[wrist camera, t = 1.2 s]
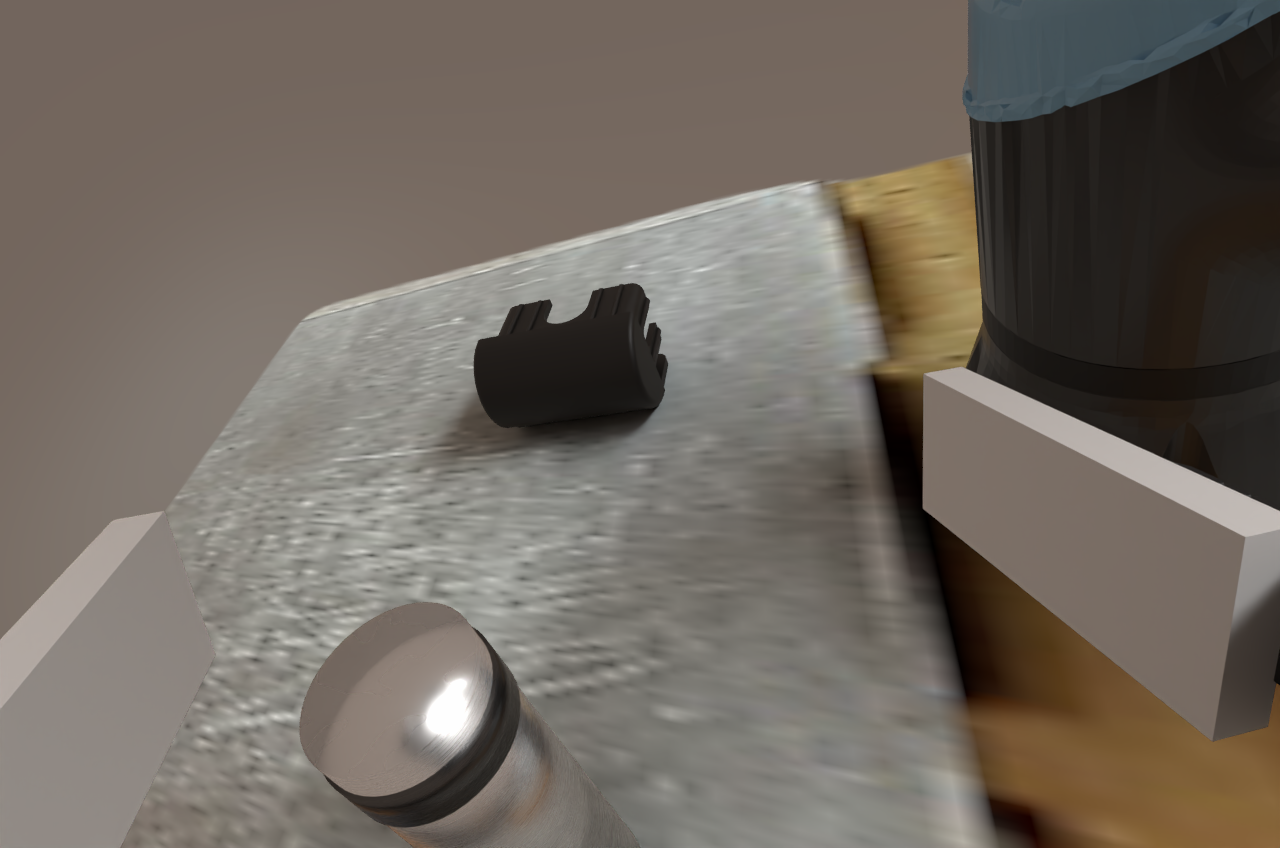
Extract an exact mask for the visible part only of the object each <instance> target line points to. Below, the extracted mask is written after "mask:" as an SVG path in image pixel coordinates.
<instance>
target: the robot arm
mask: <svg viewBox="0 0 1280 848" xmlns="http://www.w3.org/2000/svg"><path fill="white" fill-rule="evenodd" d="M963 104H964V105H965V106H966V111H967V113H968V115H969V117H970V131H971V147H972V162H973V177H974V192H975V208H976V223H977V238H978V253H979V268H980V283H981V294H982V311H983V314H982V316H983V322H982V325H981V328H980V330H979V333H978V336H977V339H976V341H975V344H974V347H973V350H972V352H971V355H970V358H969V361H968V363H967V366H966V368H963V367H958V368H952V369H947V370H941V371H936V372H930V373H925V374H924V383H923V509H924V510H925V511H927V512H928V513H929V514H930V515H932V516H933V517H934V518H935V519H937V520H938V521H939V522H940V523H941V524H943V525H944V526H945V527H946V528H948V529H949V530H950V531H951V532H953V533H954V534H955V535H956V536H958V537H959V538H960V539H961V540H963V541H964V542H965V543H966V544H968V545H969V546H970V547H971V548H973V549H974V550H975V551H976V552H978V553H979V554H980V555H981V556H983V557H984V558H985V559H986V560H987V561H989V562H990V563H991V564H992V565H994V566H995V567H996V568H997V569H999V570H1000V571H1001V572H1002V573H1004V574H1005V575H1006V576H1007V577H1009V578H1010V579H1011V580H1012V581H1014V582H1015V583H1016V584H1017V585H1019V586H1020V587H1021V588H1022V589H1024V590H1025V591H1026V592H1027V593H1028V594H1030V595H1031V596H1032V597H1033V598H1035V599H1036V600H1037V601H1038V602H1040V603H1041V604H1042V605H1043V606H1045V607H1046V608H1047V609H1048V610H1050V611H1051V612H1052V613H1053V614H1055V615H1056V616H1057V617H1058V618H1060V619H1061V620H1062V621H1063V622H1065V623H1066V624H1067V625H1068V626H1069V627H1071V628H1072V629H1073V630H1074V631H1076V632H1077V633H1078V634H1079V635H1081V636H1082V637H1083V638H1084V639H1086V640H1087V641H1088V642H1089V643H1091V644H1092V645H1093V646H1094V647H1096V648H1097V649H1098V650H1099V651H1101V652H1102V653H1103V654H1104V655H1106V656H1107V657H1108V658H1109V659H1110V660H1112V661H1113V662H1114V663H1115V664H1117V665H1118V666H1119V667H1120V668H1122V669H1123V670H1124V671H1125V672H1127V673H1128V674H1129V675H1130V676H1132V677H1133V678H1134V679H1135V680H1137V681H1138V682H1139V683H1140V684H1142V685H1143V686H1144V687H1145V688H1147V689H1148V690H1149V691H1150V692H1151V693H1153V694H1154V695H1155V696H1156V697H1158V698H1159V699H1160V700H1161V701H1163V702H1164V703H1165V704H1166V705H1168V706H1169V707H1170V708H1171V709H1173V710H1174V711H1175V712H1176V713H1178V714H1179V715H1180V716H1181V717H1183V718H1184V719H1185V720H1186V721H1188V722H1189V723H1190V724H1191V725H1192V726H1194V727H1195V728H1196V729H1197V730H1199V731H1200V732H1201V733H1202V734H1204V735H1205V736H1206V737H1207V738H1209V739H1210V740H1211V741H1216V740H1220V739H1224V738H1227V737H1231V736H1235V735H1239V734H1242V733H1246V732H1250V731H1254V730H1257V729H1261V728H1265V727H1268V723H1269V718H1270V713H1271V707H1272V702H1273V697H1274V692H1275V686H1276V683H1277V684H1279V685H1280V0H968V75H967V77H966V80H965V83H964V87H963ZM215 655H216V654H215V651H214V648H213V646H212V643H211V640H210V637H209V635H208V632H207V629H206V626H205V623H204V621H203V618H202V615H201V612H200V609H199V607H198V604H197V601H196V598H195V595H194V593H193V590H192V587H191V584H190V581H189V579H188V576H187V573H186V570H185V567H184V565H183V562H182V559H181V556H180V554H179V551H178V548H177V545H176V542H175V540H174V537H173V534H172V531H171V528H170V526H169V523H168V520H167V517H166V514H165V512H164V511H161V512H155V513H150V514H144V515H138V516H133V517H127V518H122V519H116V520H113V521H112V522H111V523H110V524H109V525H108V526H107V527H106V528H105V529H104V530H103V531H102V532H101V533H100V534H99V535H98V536H97V538H96V539H95V540H94V541H93V542H92V543H91V544H90V545H89V546H88V547H87V548H86V549H85V550H84V551H83V552H82V554H81V555H80V556H79V557H78V558H77V559H76V560H75V561H74V562H73V563H72V564H71V565H70V566H69V567H68V568H67V569H66V570H65V572H64V573H63V574H62V575H61V576H60V577H59V578H58V579H57V580H56V581H55V582H54V583H53V584H52V585H51V586H50V588H49V589H48V590H47V591H46V592H45V593H44V594H43V595H42V596H41V597H40V598H39V599H38V600H37V601H36V602H35V604H34V605H33V606H32V607H31V608H30V609H29V610H28V611H27V612H26V613H25V614H24V615H23V616H22V617H21V618H20V619H19V620H18V621H17V622H16V624H15V625H14V626H13V627H12V628H11V629H10V630H9V631H8V632H7V633H6V634H5V635H4V636H3V637H2V638H1V639H0V848H120V847H121V845H122V843H123V841H124V839H125V837H126V835H127V833H128V831H129V829H130V827H131V825H132V823H133V821H134V819H135V817H136V815H137V813H138V811H139V809H140V807H141V805H142V803H143V801H144V799H145V797H146V795H147V793H148V791H149V789H150V787H151V785H152V783H153V781H154V779H155V777H156V774H157V772H158V770H159V768H160V766H161V764H162V762H163V760H164V758H165V756H166V754H167V752H168V750H169V748H170V746H171V744H172V742H173V740H174V738H175V736H176V734H177V732H178V730H179V728H180V726H181V724H182V722H183V720H184V718H185V716H186V714H187V712H188V710H189V708H190V706H191V704H192V702H193V700H194V697H195V695H196V693H197V691H198V689H199V687H200V685H201V683H202V681H203V679H204V677H205V675H206V673H207V671H208V669H209V667H210V665H211V663H212V661H213V659H214V657H215Z"/></svg>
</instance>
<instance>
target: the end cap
mask: <svg viewBox="0 0 1280 848" xmlns="http://www.w3.org/2000/svg"><path fill="white" fill-rule="evenodd" d="M649 303H650V300H649V299H648V298H647V297H646V296H645V293H644V290H643V289H642V287H641V286H640V285H638V284H634V283H631V284H625V285H623V284H620V285H619V286H615V287H610V288H605V289H603V288H600V289H599V290H595V291H593V292H592V295H591V298H590V301H589V304H588V306H587V308H586V310H585V311H584V312H583V313H582V314H580V315H579V316H578V317H576V318H574V319H572V320H570V321H567V322H564V323H559V324H551V323H548V322H547V318H548V316H549V313H550V310H551V308H552V303H551V301H550V299H549V300H544V301H541V300H540V301H538V302H534V303H529V304H520V305H519V306H515V307H512V308H511V309H510V311H509V313H508V315H507V318H506V320H505V322H504V324H503V326H502V329H501V331H500V333H499V335H498V336H496V337H491V338H485V339H480V340H479V341H478V343H477V346H476V349H475V355H474V378H475V384H476V388H477V392H478V396H479V398H480V401H481V404H482V406H483V408H484V410H485V411H486V413H487V414H488V416H489V417H490V418H491V419H492V420H493V421H494V422H495V423H496V424H498V425H499V426H501V427H505V428H509V427H525V426H532V425H539V424H546V423H553V422H560V421H567V420H574V419H580V418H587V417H594V416H601V415H608V414H615V413H622V412H629V411H636V410H643V409H650V408H654V407H657V406H659V404H660V402H661V400H662V398H663V396H664V392H665V389H664V383H665V378H666V373H667V368H668V362H667V359H666V357H665V355H663V354H658V353H659V348H660V343H661V336H660V334H661V330H660V329H659V328H657V325H656V322H655V323H650V324H649V328H648V332H647V336H646V340H645V337H644V326H645V321H646V317H647V313H648V309H649Z"/></svg>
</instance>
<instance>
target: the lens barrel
mask: <svg viewBox="0 0 1280 848" xmlns="http://www.w3.org/2000/svg"><path fill="white" fill-rule="evenodd" d="M300 739H301V744H302V747H303V750H304V753H305V754H306V756H307V758H308V759H309V761H310V762H311V763H312V764H313V765H314V766H315V767H316V768H317V769H318V770H320V771H321V772H322V773H323V774H324V776H325V777H326V779H327V781H328V782H329V783H330V784H331V785H332V786H333V787H334V788H335V789H336V790H337V791H338V792H339V793H341V794H342V795H343V796H344V797H346V798H347V799H348V800H349V801H350V802H352V803H353V804H354V805H355V806H357V807H358V808H359V809H360V810H362V811H363V812H364V813H365V814H367V815H368V816H369V817H371V818H372V819H374V820H375V821H377V822H379V823H382V824H384V825H387V826H388V827H389V828H391V829H392V830H393V831H394V832H396V833H397V834H398V835H399V836H400V837H402V838H403V839H404V840H405V841H407V842H408V843H409V844H410V845H411V846H413V847H414V848H640V847H639V844H638V842H637V840H636V838H635V836H634V835H633V834H632V832H631V831H630V829H629V828H628V827H627V826H626V824H625V823H624V822H623V820H622V819H621V818H620V817H619V815H618V814H617V813H616V811H615V810H614V809H613V808H612V806H611V805H610V804H609V802H608V801H607V800H606V799H605V797H604V796H603V795H602V793H601V792H600V791H599V790H598V788H597V787H596V786H595V784H594V783H593V782H592V781H591V779H590V778H589V777H588V775H587V774H586V773H585V772H584V770H583V769H582V768H581V766H580V765H579V764H578V763H577V761H576V760H575V759H574V757H573V756H572V755H571V754H570V752H569V751H568V750H567V748H566V747H565V746H564V745H563V743H562V742H561V741H560V740H559V738H558V737H557V736H556V734H555V733H554V732H553V731H552V729H551V728H550V727H549V725H548V724H547V723H546V722H545V720H544V719H543V718H542V716H541V715H540V714H539V713H538V711H537V710H536V709H535V707H534V706H533V705H532V704H531V702H530V701H529V700H528V698H527V697H526V696H525V695H524V693H523V692H522V691H521V689H520V688H519V687H518V686H517V682H516V680H515V678H514V676H513V674H512V673H511V671H510V670H509V668H508V667H507V666H506V664H505V663H504V662H503V660H502V659H501V658H500V657H499V655H498V654H497V653H496V651H495V650H494V649H493V647H492V646H491V645H490V644H489V642H488V641H487V640H486V638H485V637H484V636H483V635H482V634H481V633H480V632H479V631H478V630H476V629H475V628H473V627H472V626H471V625H470V624H469V623H468V621H467V620H466V619H465V618H464V617H463V616H462V615H461V614H460V613H459V612H457V611H456V610H454V609H453V608H451V607H448V606H446V605H443V604H438V603H429V602H423V603H413V604H408V605H404V606H400V607H397V608H394V609H392V610H389V611H387V612H384V613H382V614H381V615H379V616H377V617H375V618H373V619H371V620H370V621H368V622H367V623H365V624H364V625H362V626H361V627H359V628H358V629H357V630H355V631H354V632H353V633H352V634H351V635H349V636H348V637H347V638H346V639H345V640H344V641H343V642H342V643H341V644H340V645H339V646H338V647H337V648H336V649H335V650H334V651H333V652H332V654H331V655H330V656H329V657H328V658H327V660H326V661H325V662H324V664H323V665H322V667H321V668H320V670H319V671H318V673H317V674H316V676H315V678H314V679H313V681H312V684H311V686H310V688H309V690H308V692H307V695H306V697H305V700H304V703H303V707H302V711H301V717H300Z"/></svg>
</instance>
